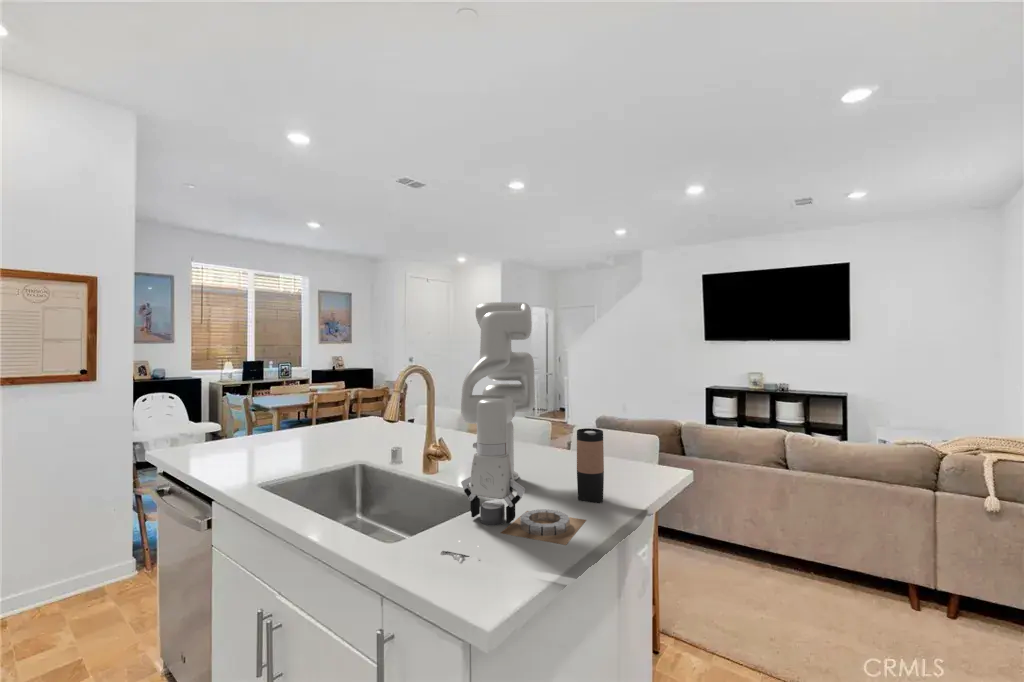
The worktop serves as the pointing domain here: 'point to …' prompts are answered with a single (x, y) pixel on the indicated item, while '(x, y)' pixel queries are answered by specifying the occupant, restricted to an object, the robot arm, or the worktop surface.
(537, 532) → the grey segmented ring
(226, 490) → the worktop surface
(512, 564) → the worktop surface
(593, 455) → the travel mug
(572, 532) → the board
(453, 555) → the acanthus leaf ornament
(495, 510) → the cap
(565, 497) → the worktop surface
